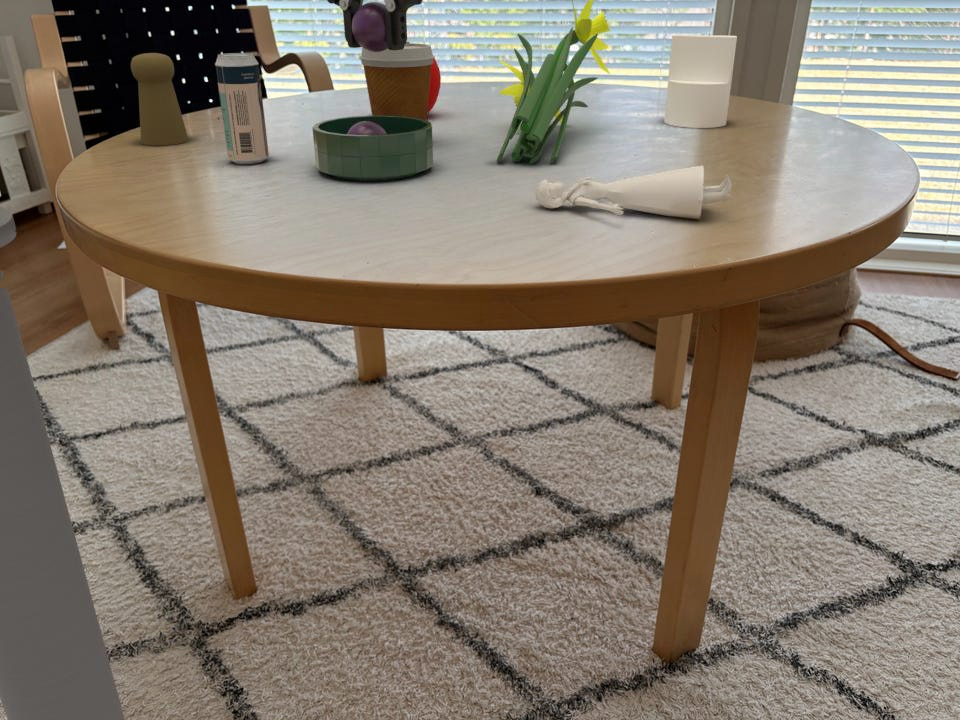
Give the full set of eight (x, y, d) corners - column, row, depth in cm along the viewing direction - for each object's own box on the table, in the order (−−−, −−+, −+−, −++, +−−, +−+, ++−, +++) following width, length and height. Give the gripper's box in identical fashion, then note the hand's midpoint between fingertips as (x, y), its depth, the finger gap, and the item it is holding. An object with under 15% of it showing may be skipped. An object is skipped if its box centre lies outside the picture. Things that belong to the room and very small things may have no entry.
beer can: (277, 159, 98) (266, 53, 93) (248, 167, 94) (235, 57, 89) (249, 155, 100) (236, 51, 95) (219, 162, 97) (204, 55, 92)
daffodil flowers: (435, 166, 98) (499, 57, 124) (537, 229, 101) (580, 109, 126) (501, 49, 87) (557, -45, 112) (615, 123, 89) (645, 15, 115)
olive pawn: (197, 138, 111) (184, 51, 106) (170, 146, 105) (155, 56, 101) (159, 135, 112) (145, 50, 107) (131, 144, 107) (114, 55, 102)
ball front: (359, 54, 86) (355, 3, 84) (349, 50, 90) (345, 1, 88) (405, 52, 87) (402, 2, 85) (392, 49, 92) (390, 0, 90)
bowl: (330, 187, 86) (326, 139, 83) (307, 162, 97) (303, 119, 94) (448, 177, 90) (447, 130, 88) (414, 154, 101) (412, 112, 99)
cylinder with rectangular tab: (659, 125, 119) (667, 37, 113) (669, 116, 126) (677, 32, 121) (722, 129, 116) (734, 39, 110) (729, 119, 123) (739, 34, 118)
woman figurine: (737, 181, 68) (525, 185, 72) (733, 232, 70) (527, 234, 74) (727, 152, 79) (542, 158, 82) (724, 198, 81) (543, 201, 84)
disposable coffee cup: (451, 144, 107) (449, 46, 101) (390, 153, 101) (385, 50, 96) (410, 133, 113) (406, 41, 108) (350, 142, 108) (344, 45, 103)
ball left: (351, 173, 89) (348, 126, 87) (341, 163, 93) (338, 119, 91) (396, 169, 91) (394, 123, 88) (384, 160, 95) (382, 116, 93)
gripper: (286, -132, 82) (303, 48, 89) (399, -142, 75) (407, 54, 82) (337, -126, 88) (349, 43, 95) (446, -135, 80) (450, 48, 88)
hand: (376, 47), depth 89 cm, fingers closed on ball front, 5 cm apart
